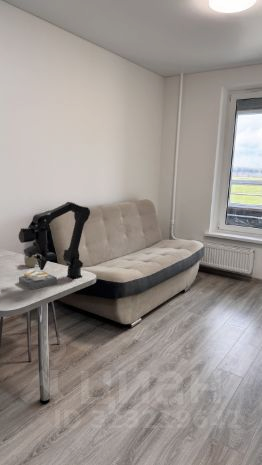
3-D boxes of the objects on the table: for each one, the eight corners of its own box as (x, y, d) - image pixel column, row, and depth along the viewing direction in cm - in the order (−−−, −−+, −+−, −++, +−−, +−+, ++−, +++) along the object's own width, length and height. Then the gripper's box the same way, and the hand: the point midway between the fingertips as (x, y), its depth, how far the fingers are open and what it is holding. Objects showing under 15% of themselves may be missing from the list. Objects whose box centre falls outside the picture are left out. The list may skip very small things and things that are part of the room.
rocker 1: (33, 271, 171) (32, 268, 170) (36, 272, 169) (35, 270, 168) (24, 276, 167) (23, 273, 167) (27, 277, 165) (26, 274, 165)
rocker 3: (41, 277, 165) (41, 274, 164) (44, 279, 163) (45, 275, 162) (32, 279, 161) (32, 275, 161) (35, 280, 159) (35, 277, 159)
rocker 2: (37, 274, 168) (36, 271, 167) (40, 275, 166) (39, 272, 165) (28, 277, 164) (27, 274, 164) (31, 279, 162) (30, 276, 162)
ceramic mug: (24, 268, 190) (24, 255, 188) (24, 264, 197) (24, 252, 196) (43, 267, 193) (43, 254, 192) (42, 263, 201) (42, 251, 199)
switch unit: (43, 276, 177) (42, 270, 176) (56, 283, 167) (56, 277, 167) (19, 282, 167) (18, 276, 166) (32, 289, 157) (32, 283, 157)
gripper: (16, 238, 160) (17, 268, 163) (35, 246, 147) (36, 278, 150) (36, 235, 168) (37, 264, 171) (56, 242, 155) (57, 273, 158)
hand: (41, 269), depth 162 cm, fingers closed
